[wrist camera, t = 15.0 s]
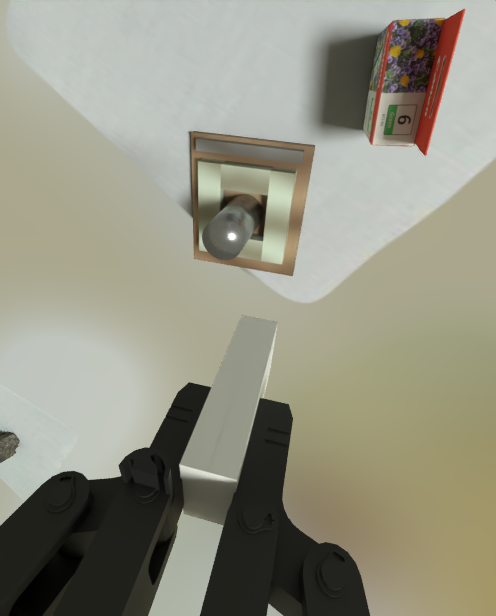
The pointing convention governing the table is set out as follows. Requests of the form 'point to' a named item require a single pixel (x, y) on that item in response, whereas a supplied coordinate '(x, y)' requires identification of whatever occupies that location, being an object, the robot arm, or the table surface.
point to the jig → (252, 194)
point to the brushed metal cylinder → (232, 227)
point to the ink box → (410, 80)
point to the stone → (7, 446)
